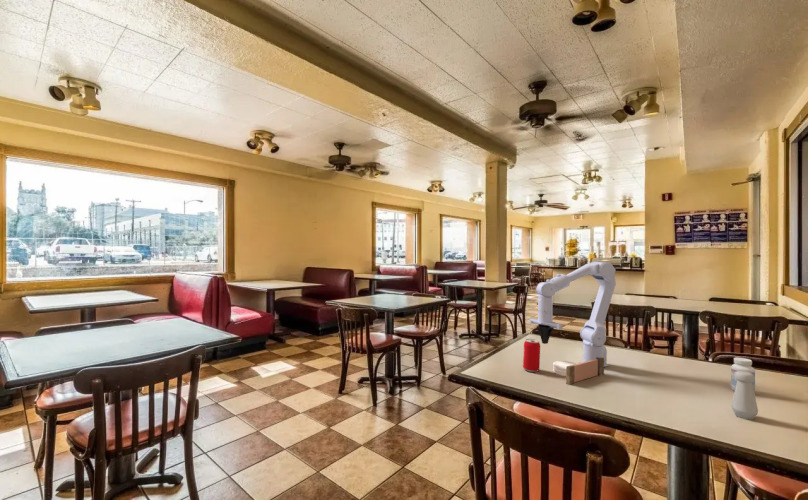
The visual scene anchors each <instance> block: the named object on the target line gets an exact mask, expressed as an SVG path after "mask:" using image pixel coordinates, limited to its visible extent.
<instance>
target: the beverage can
mask: <svg viewBox="0 0 808 500" xmlns="http://www.w3.org/2000/svg"><path fill="white" fill-rule="evenodd" d="M522 358H523V361H522V363H523V364H522V368H523V369H524V370H525V371H527V372H530V373H535V372H536V373H537V372H539V370H540V360H541V343H540V341H539V340H538V339H533V338H526V339H525V341H524V342H523V357H522Z"/></svg>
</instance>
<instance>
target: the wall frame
mask: <svg viewBox="0 0 808 500" xmlns="http://www.w3.org/2000/svg"><path fill="white" fill-rule="evenodd" d="M596 359H597V360H598V375H597V376H598V377H599V376H602V375H605V367H604V358H602V357H601V358H599V357H596ZM574 373H575V366H573V365H570V366H567V369H566V376H565V377H566V381H565V382H566V385H569V386H570V385H573V384H575V382H574ZM597 376H596V377H597Z"/></svg>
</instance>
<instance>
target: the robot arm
mask: <svg viewBox="0 0 808 500" xmlns="http://www.w3.org/2000/svg"><path fill="white" fill-rule="evenodd" d="M616 271H617V270H616V268H615V267H614V266H613V264H612V263H611V262H609V261H591V262H589V263H585V264H584V265H582V266H579V268H577V269H575V270H572V271H571V272H569V273H568V274H564V273H557V274H555V276H554V277H552V278H551V279H548V278H547V279H546V281H544V282H542V281H541V282H539V283H538V284H537V286H536V288H535V291H536V293H537V296H538V297H537V301H538V302H537V318H529V324H535V325H536V329H537V332H538V334H539V336H540V339H541V343H542V344H545V345H547V344H549V341H550V337H551V334H552V332H554V330H555V329H556V330H562V329H563V324H561V323H559V322H555V321H553V319H554V317H553V316H554V315H553V308H554V307H553V303H554V302H553V301H554V300H553V296H554V295H555V294H556V293H557V292H559V291H561V290H563V289H566V288H567V287H570V284H571V282H575V281H577V280H579V279H581V278H583V277H586V276H591V277H593V278H594V280H596V282H598V284H599V288H598V291H597V294H596V297H595V301H594V303H593V307H592V310H591V315H590V317H589V319H588V320H587V321H585V323H584V326H583V327H582V328H581V329H580V331H579V334H580V335H579V336H580V338H581V339H582V361H580V362H579V363H582V362H586V361H590V360H593V359H596V357H599V358H601V357H602V358H604V368H606V367H608V366H609V365H610V364H608V363H607V362H608V360H607V359H608V358H607V357H608V355H607V354H608V352H607V351H608V350H607V348H606V346H605V343H606V341H607V335H606V333H607V328H606V326H605V322H606V319H607V314H608V311H609V308H610V304H611V301H612V297H613V295H614V291H615V287H616V278H615V277H616V276H615V274H616Z"/></svg>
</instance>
